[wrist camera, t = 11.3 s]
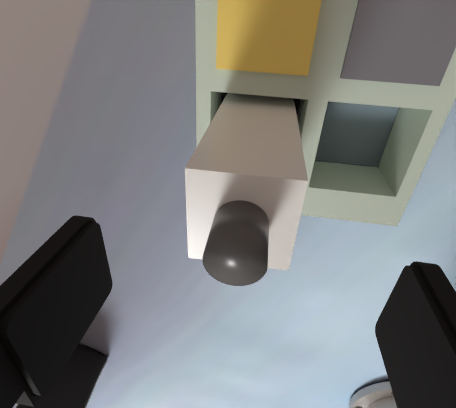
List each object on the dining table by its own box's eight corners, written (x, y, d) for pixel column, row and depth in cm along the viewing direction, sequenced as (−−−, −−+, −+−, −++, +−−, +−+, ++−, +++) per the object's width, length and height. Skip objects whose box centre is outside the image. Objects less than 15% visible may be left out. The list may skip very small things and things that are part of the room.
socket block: (463, -24, 15) (519, -32, 12) (379, 193, 23) (398, 229, 19) (211, -36, 17) (193, -47, 13) (208, 175, 24) (196, 205, 20)
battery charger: (56, 347, 42) (-8, 447, 33) (62, 334, 40) (-5, 437, 30) (103, 366, 43) (54, 468, 34) (111, 355, 41) (61, 460, 32)
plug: (292, 91, 20) (314, 218, 8) (283, 149, 22) (290, 313, 10) (231, 86, 20) (166, 200, 8) (228, 143, 22) (174, 297, 11)
